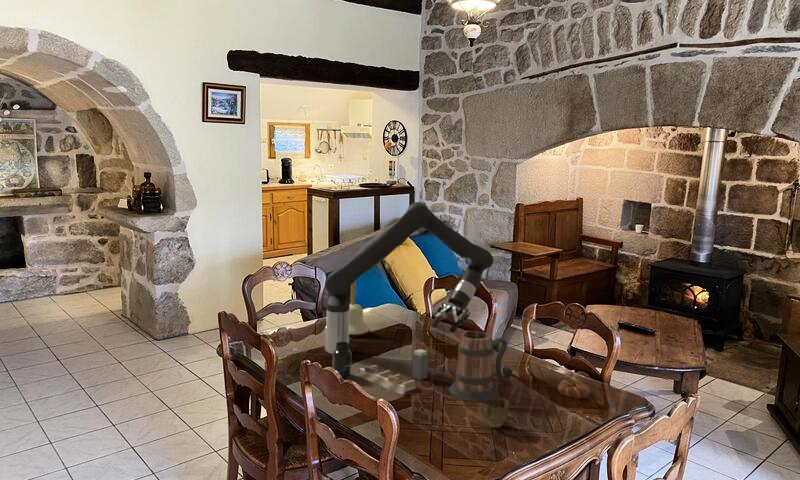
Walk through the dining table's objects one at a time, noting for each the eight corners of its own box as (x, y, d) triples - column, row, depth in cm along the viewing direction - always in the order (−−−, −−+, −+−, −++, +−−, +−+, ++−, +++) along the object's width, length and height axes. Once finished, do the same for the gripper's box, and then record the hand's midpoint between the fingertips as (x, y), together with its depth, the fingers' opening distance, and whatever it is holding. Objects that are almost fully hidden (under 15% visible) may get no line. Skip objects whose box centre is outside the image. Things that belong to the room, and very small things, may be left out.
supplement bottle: (348, 379, 210) (348, 347, 208) (329, 377, 211) (330, 345, 209) (353, 373, 216) (354, 341, 215) (335, 371, 218) (336, 339, 216)
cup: (480, 420, 180) (481, 396, 179) (504, 420, 180) (505, 395, 179) (486, 432, 172) (487, 406, 171) (510, 432, 173) (512, 406, 172)
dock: (358, 376, 213) (359, 364, 212) (373, 371, 218) (373, 359, 217) (402, 394, 198) (402, 381, 197) (416, 389, 203) (417, 376, 202)
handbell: (328, 333, 264) (328, 278, 260) (349, 325, 276) (350, 273, 272) (355, 339, 255) (356, 283, 251) (376, 331, 267) (377, 278, 264)
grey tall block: (411, 377, 214) (412, 350, 213) (419, 374, 217) (420, 348, 215) (420, 380, 211) (420, 353, 210) (427, 377, 214) (428, 351, 213)
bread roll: (549, 389, 207) (550, 379, 207) (574, 385, 212) (574, 375, 211) (571, 402, 197) (572, 391, 196) (597, 397, 201) (598, 387, 200)
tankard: (464, 403, 192) (467, 344, 189) (440, 385, 207) (442, 330, 204) (524, 393, 202) (527, 337, 199) (496, 376, 217) (499, 324, 214)
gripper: (444, 286, 229) (423, 320, 222) (473, 292, 219) (452, 328, 212) (452, 297, 233) (432, 330, 227) (481, 303, 223) (461, 339, 217)
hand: (442, 329), depth 220 cm, fingers open, 8 cm apart
